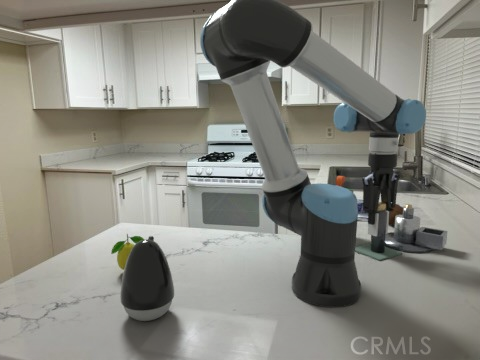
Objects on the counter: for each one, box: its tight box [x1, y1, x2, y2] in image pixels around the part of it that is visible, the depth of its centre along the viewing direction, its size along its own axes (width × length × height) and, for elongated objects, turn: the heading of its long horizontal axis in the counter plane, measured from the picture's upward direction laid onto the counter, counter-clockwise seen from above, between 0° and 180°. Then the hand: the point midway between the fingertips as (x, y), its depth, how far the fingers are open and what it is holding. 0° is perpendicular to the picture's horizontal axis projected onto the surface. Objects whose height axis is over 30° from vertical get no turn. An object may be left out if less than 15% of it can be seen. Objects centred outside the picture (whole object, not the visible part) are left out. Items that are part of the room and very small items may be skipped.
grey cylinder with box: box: [393, 203, 448, 251], centre depth 108 cm, size 7×14×11 cm, turn 51°
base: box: [385, 231, 435, 254], centre depth 112 cm, size 16×16×1 cm
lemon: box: [110, 233, 145, 271], centre depth 90 cm, size 7×6×10 cm
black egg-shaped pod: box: [120, 235, 175, 322], centre depth 70 cm, size 10×10×15 cm
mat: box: [355, 242, 403, 262], centre depth 104 cm, size 10×10×1 cm
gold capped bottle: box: [370, 201, 386, 253], centre depth 103 cm, size 4×4×14 cm
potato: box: [388, 203, 404, 226], centre depth 130 cm, size 7×10×8 cm
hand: (377, 233), depth 104 cm, fingers closed on gold capped bottle, 4 cm apart
